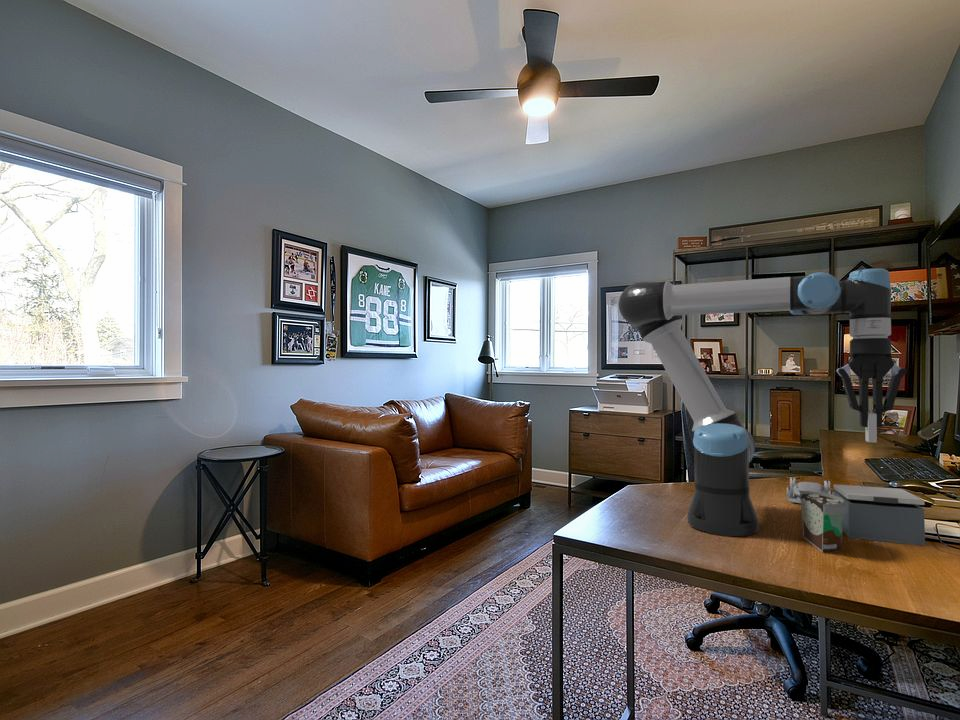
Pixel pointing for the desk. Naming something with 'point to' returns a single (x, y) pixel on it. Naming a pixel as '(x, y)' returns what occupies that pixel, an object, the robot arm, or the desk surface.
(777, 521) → the desk surface
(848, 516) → the storage box
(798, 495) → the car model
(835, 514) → the food container
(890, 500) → the box lid
